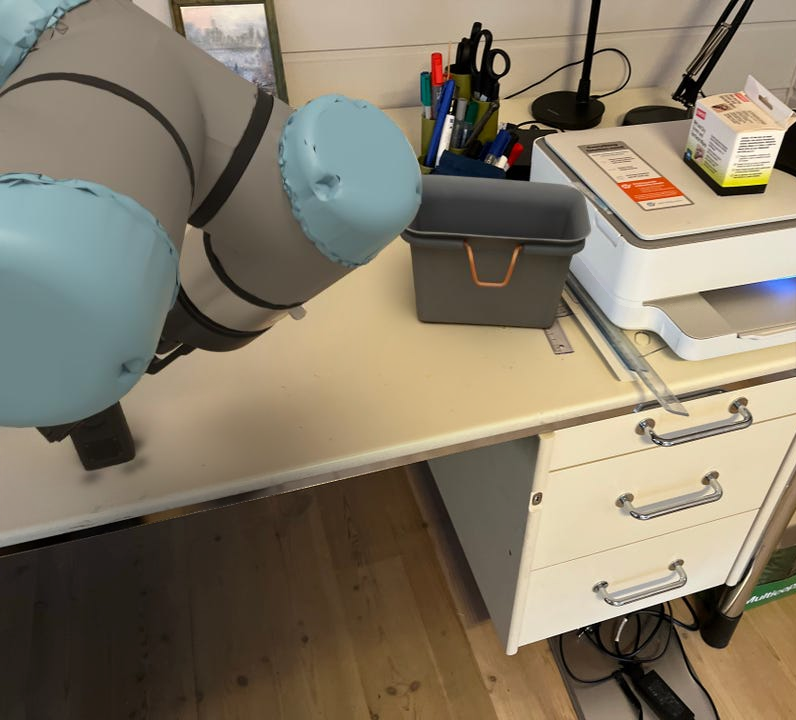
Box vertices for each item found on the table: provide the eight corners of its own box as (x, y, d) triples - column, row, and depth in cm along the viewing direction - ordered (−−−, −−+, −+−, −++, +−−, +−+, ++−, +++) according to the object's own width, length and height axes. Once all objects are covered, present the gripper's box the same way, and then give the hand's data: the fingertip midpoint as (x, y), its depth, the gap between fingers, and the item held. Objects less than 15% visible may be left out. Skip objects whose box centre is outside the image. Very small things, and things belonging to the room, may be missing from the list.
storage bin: (567, 279, 99) (582, 180, 90) (578, 355, 87) (597, 250, 78) (405, 272, 98) (404, 172, 89) (395, 347, 87) (392, 241, 77)
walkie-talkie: (133, 437, 74) (90, 316, 64) (136, 461, 72) (91, 339, 62) (80, 450, 72) (27, 327, 63) (81, 475, 70) (26, 352, 60)
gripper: (112, 451, 39) (18, 514, 53) (386, 238, 56) (257, 330, 70) (7, 337, 37) (-60, 434, 52) (322, 153, 54) (204, 266, 69)
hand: (123, 374), depth 61 cm, fingers open, 13 cm apart
